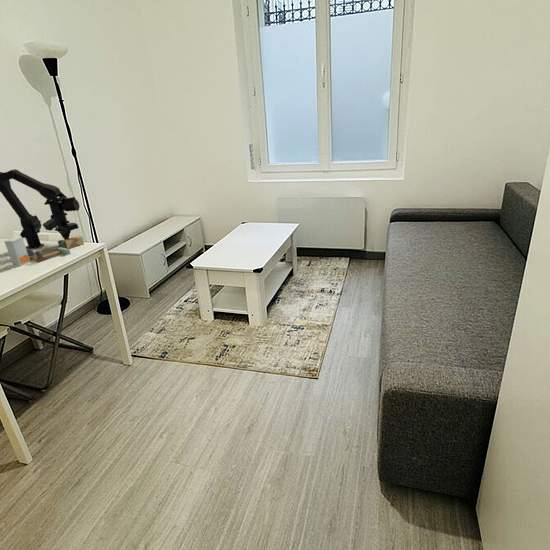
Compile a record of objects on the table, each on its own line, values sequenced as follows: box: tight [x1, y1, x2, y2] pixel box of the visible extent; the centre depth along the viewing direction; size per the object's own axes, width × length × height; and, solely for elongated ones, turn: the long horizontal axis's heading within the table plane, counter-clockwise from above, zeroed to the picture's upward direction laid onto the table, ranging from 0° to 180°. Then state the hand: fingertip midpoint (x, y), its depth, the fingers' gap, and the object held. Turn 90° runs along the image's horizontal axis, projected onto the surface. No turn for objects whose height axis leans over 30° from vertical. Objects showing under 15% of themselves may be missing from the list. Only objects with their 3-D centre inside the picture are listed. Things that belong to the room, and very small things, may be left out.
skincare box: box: [4, 236, 31, 267], centre depth 176 cm, size 6×4×12 cm
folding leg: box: [57, 235, 85, 250], centre depth 195 cm, size 12×4×5 cm, turn 149°
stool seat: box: [26, 247, 63, 263], centre depth 185 cm, size 11×13×4 cm
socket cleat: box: [57, 247, 71, 256], centre depth 187 cm, size 7×2×2 cm, turn 59°
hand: (67, 241), depth 201 cm, fingers closed
